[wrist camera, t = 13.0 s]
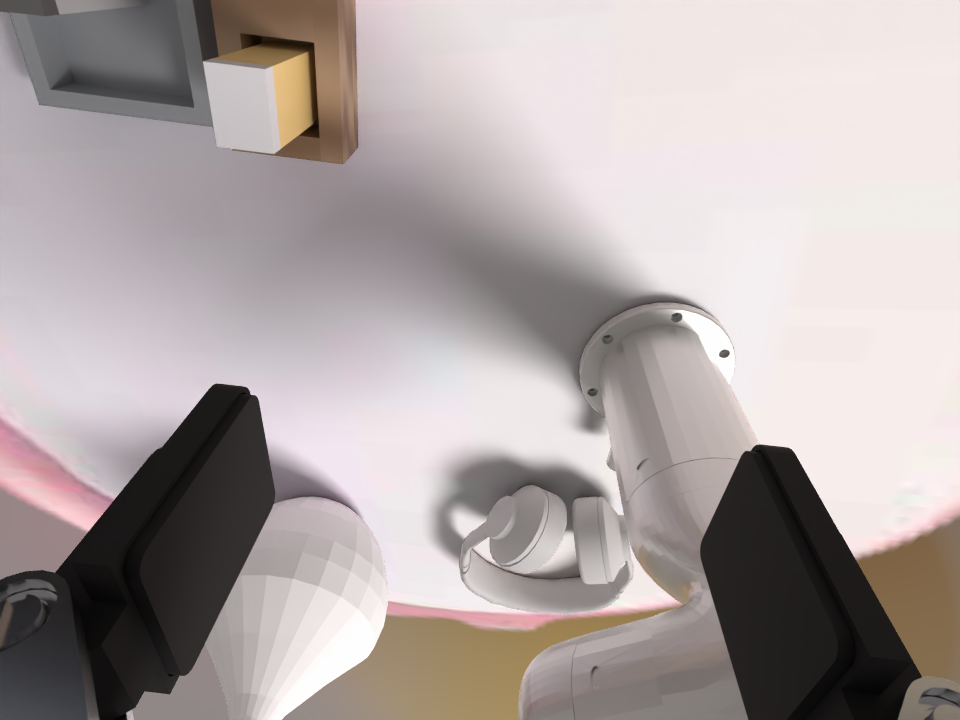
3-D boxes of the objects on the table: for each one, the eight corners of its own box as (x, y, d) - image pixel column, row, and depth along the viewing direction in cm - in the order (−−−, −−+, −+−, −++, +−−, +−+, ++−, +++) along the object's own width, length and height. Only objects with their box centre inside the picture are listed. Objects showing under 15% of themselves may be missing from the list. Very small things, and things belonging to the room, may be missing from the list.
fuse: (323, 116, 37) (274, 153, 29) (277, 110, 37) (216, 147, 29) (319, 47, 34) (264, 69, 27) (271, 40, 34) (202, 61, 27)
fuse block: (357, 147, 39) (342, 164, 35) (257, 134, 38) (232, 150, 35) (351, -167, 29) (330, -183, 26) (218, -185, 29) (180, -203, 26)
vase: (221, 462, 58) (5, 823, 34) (397, 473, 57) (306, 849, 33) (258, 568, 68) (113, 900, 44) (406, 578, 68) (342, 921, 44)
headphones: (480, 458, 55) (453, 554, 68) (473, 530, 49) (445, 619, 63) (662, 489, 56) (599, 577, 69) (676, 563, 50) (604, 644, 64)
